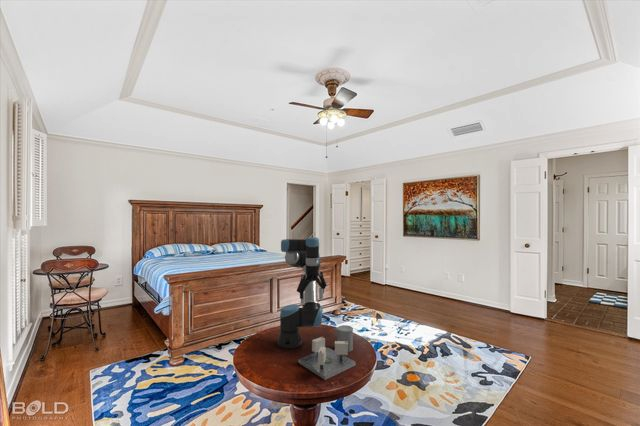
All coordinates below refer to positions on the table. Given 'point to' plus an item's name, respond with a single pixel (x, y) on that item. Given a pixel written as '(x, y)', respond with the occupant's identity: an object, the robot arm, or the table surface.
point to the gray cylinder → (345, 335)
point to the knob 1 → (321, 356)
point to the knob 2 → (341, 348)
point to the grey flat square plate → (327, 364)
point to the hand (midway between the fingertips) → (312, 301)
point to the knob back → (318, 344)
